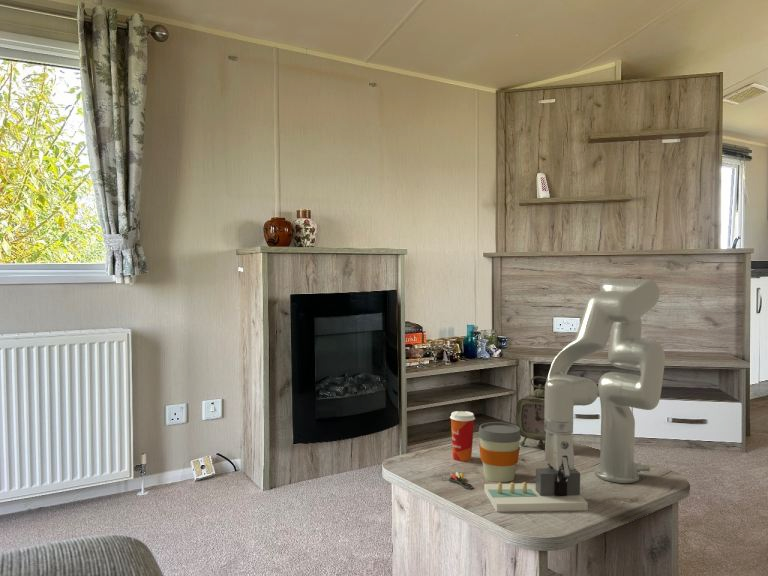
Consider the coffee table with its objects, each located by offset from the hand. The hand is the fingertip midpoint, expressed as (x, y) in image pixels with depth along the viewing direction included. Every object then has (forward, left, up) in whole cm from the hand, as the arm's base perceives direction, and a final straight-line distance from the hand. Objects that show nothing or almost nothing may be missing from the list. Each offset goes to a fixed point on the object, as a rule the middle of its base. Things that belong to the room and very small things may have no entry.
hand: (557, 491), depth 159 cm
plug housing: (0, 0, 0) cm, 0 cm away
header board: (+6, 0, -2) cm, 7 cm away
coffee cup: (+19, -35, -3) cm, 40 cm away
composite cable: (+24, -13, -3) cm, 28 cm away
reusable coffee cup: (+11, -18, -3) cm, 22 cm away
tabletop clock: (-11, -47, -3) cm, 48 cm away
